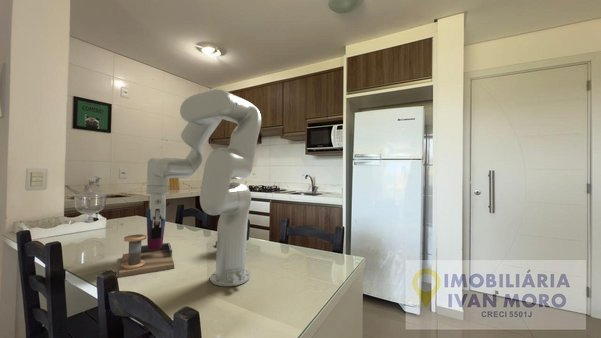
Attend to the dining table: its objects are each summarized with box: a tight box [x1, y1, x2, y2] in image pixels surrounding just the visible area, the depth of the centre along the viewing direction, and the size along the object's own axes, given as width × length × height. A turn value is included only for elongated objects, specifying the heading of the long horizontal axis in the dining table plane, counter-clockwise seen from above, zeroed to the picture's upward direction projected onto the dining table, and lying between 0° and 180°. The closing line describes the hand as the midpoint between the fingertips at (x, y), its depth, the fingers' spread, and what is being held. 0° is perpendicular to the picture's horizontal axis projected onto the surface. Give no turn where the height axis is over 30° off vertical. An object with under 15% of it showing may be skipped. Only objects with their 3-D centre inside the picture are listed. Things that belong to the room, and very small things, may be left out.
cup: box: [146, 207, 167, 249], centre depth 97 cm, size 7×7×15 cm
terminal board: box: [118, 233, 175, 278], centre depth 93 cm, size 20×16×12 cm
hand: (155, 235), depth 97 cm, fingers closed on cup, 6 cm apart
